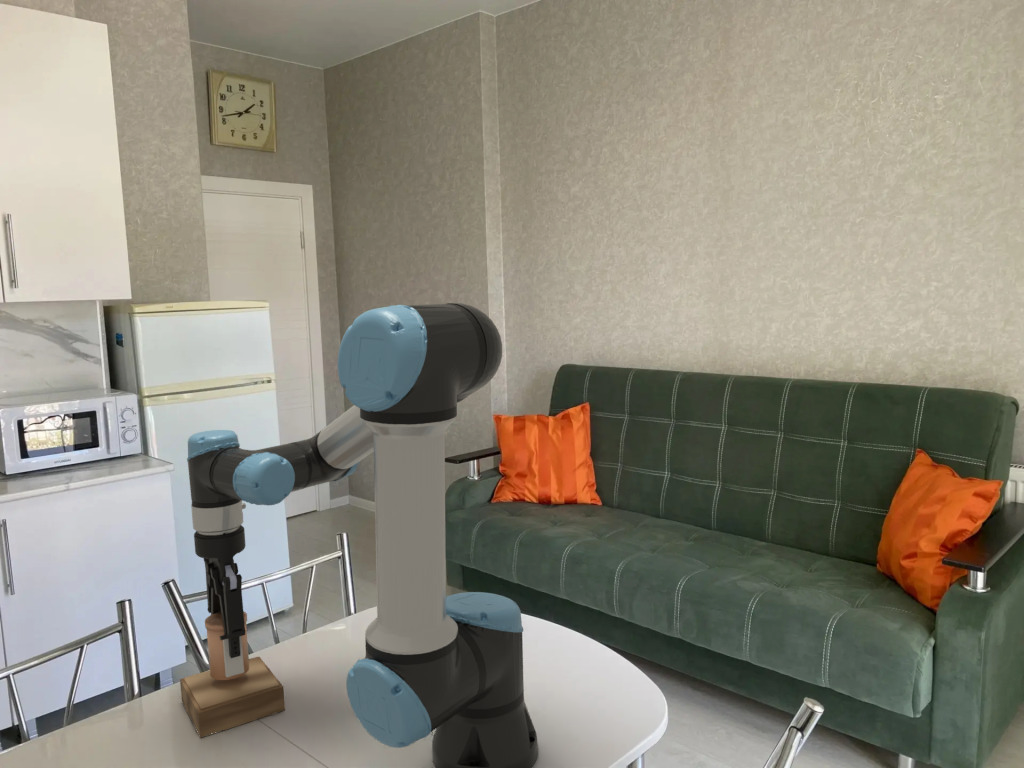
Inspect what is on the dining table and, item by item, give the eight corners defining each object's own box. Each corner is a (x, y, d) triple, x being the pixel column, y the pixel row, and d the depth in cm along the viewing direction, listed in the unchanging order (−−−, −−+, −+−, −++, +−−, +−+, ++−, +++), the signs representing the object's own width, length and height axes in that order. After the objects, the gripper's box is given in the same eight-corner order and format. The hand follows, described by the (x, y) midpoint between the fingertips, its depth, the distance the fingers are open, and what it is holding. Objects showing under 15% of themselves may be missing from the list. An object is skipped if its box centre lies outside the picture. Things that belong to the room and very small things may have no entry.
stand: (284, 710, 125) (283, 684, 124) (200, 738, 117) (198, 711, 117) (260, 678, 135) (259, 654, 135) (182, 702, 128) (179, 677, 128)
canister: (255, 672, 125) (251, 619, 124) (214, 684, 121) (210, 630, 120) (244, 657, 130) (240, 606, 129) (204, 668, 127) (200, 616, 125)
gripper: (260, 538, 117) (270, 682, 120) (227, 510, 133) (236, 638, 135) (209, 548, 113) (220, 697, 116) (181, 518, 128) (191, 650, 131)
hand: (229, 665), depth 126 cm, fingers closed on canister, 6 cm apart
